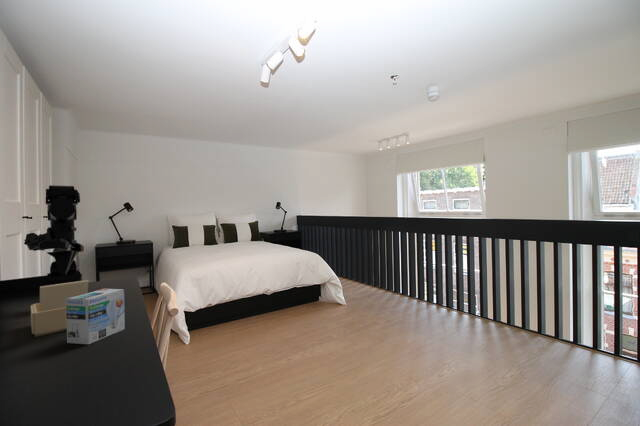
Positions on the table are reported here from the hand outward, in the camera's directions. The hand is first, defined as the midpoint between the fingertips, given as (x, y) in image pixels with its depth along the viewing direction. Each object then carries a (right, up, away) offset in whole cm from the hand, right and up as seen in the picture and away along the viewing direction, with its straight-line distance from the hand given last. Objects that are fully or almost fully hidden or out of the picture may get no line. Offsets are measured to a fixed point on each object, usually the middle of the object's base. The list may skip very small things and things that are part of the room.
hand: (63, 274), depth 94 cm
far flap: (+12, -3, -14) cm, 18 cm away
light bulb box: (+23, -12, -17) cm, 31 cm away
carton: (+6, -13, -8) cm, 16 cm away
